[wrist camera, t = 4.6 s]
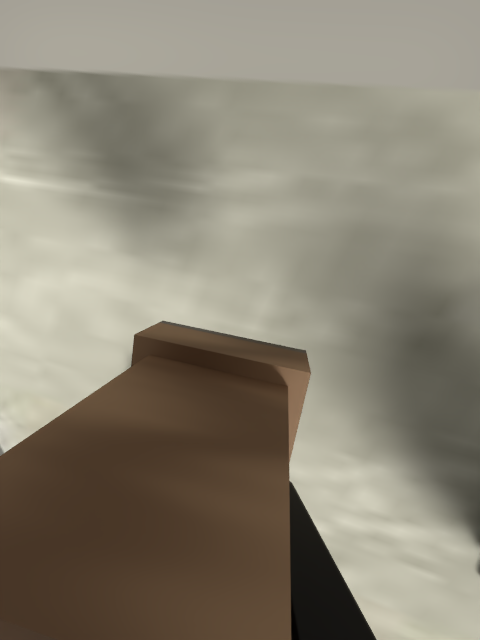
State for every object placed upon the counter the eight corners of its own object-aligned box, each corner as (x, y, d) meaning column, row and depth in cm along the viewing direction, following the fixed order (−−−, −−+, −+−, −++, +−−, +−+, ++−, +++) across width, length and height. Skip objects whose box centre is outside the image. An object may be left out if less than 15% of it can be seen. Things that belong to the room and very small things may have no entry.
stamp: (306, 350, 10) (380, 699, 2) (276, 478, 11) (250, 1026, 3) (162, 320, 10) (-213, 501, 3) (148, 445, 11) (-146, 836, 4)
